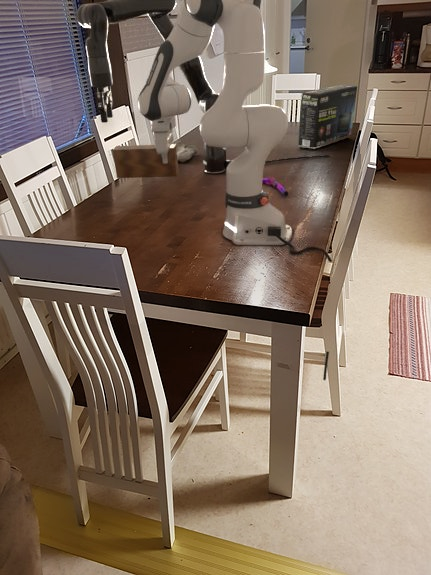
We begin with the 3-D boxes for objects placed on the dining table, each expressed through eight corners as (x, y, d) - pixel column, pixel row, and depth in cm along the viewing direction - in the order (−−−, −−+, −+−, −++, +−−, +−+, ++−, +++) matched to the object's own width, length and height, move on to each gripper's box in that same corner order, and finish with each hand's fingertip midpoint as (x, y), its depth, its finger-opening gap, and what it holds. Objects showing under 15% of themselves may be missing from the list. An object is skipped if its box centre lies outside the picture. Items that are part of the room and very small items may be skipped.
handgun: (255, 182, 193) (255, 177, 192) (273, 180, 195) (273, 175, 194) (269, 198, 176) (269, 193, 175) (289, 195, 177) (289, 191, 176)
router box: (314, 151, 231) (318, 94, 217) (296, 148, 237) (299, 92, 224) (352, 138, 251) (358, 85, 238) (335, 135, 258) (340, 83, 245)
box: (178, 171, 177) (176, 144, 172) (176, 176, 172) (174, 147, 167) (120, 173, 179) (116, 145, 173) (117, 178, 173) (112, 149, 168)
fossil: (184, 156, 217) (163, 136, 220) (174, 174, 223) (154, 154, 227) (205, 153, 231) (186, 134, 234) (195, 171, 237) (176, 152, 240)
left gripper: (94, 69, 166) (101, 116, 174) (84, 73, 153) (92, 124, 162) (115, 68, 165) (121, 115, 174) (106, 73, 153) (113, 123, 161)
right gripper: (158, 116, 174) (162, 153, 181) (150, 128, 156) (154, 168, 163) (175, 116, 174) (178, 153, 181) (168, 127, 156) (172, 167, 163)
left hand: (107, 119), depth 168 cm, fingers open, 8 cm apart
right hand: (167, 160), depth 172 cm, fingers closed on box, 6 cm apart
